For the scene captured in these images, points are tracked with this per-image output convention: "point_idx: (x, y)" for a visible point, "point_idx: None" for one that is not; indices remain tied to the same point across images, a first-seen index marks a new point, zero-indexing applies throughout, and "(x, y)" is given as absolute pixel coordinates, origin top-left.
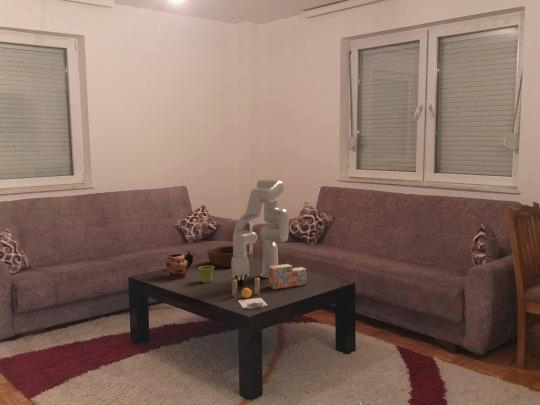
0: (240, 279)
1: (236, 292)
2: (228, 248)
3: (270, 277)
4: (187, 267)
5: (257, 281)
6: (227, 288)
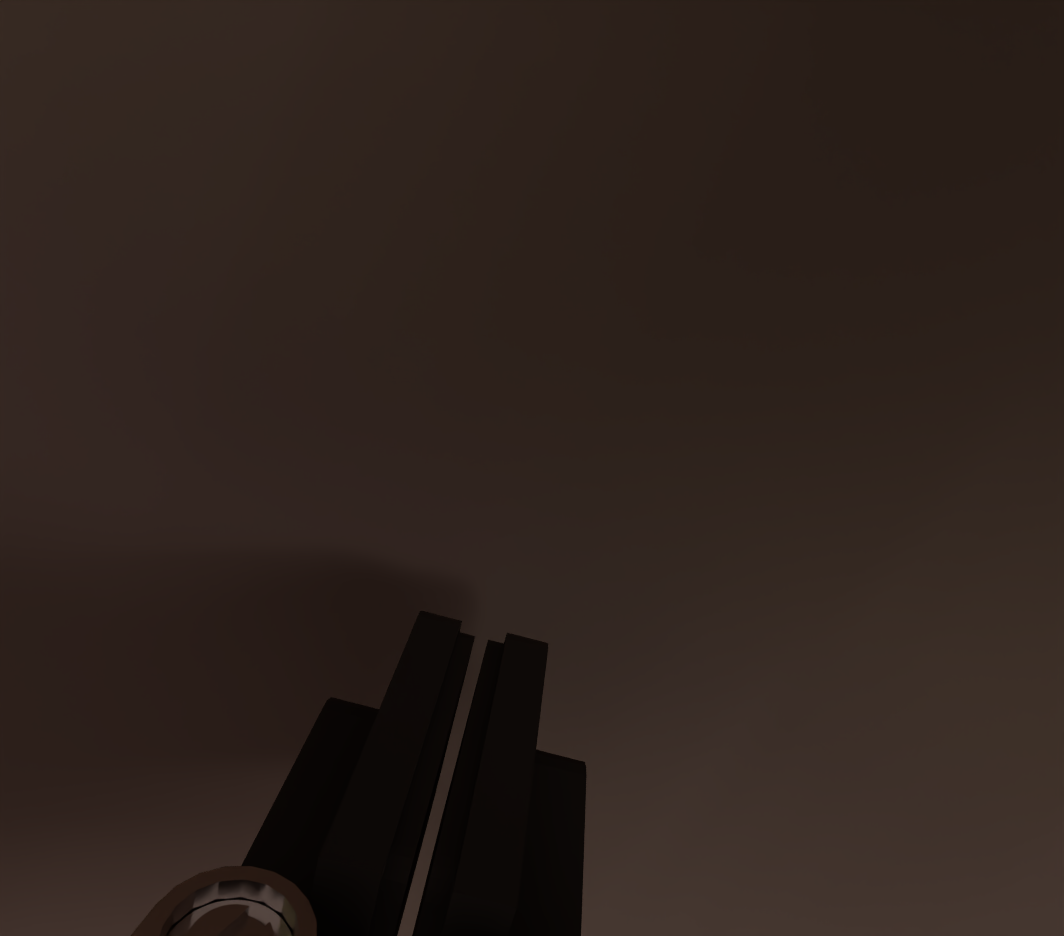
0: (426, 933)
1: None
2: None
3: None
4: None
5: None
6: (12, 286)
